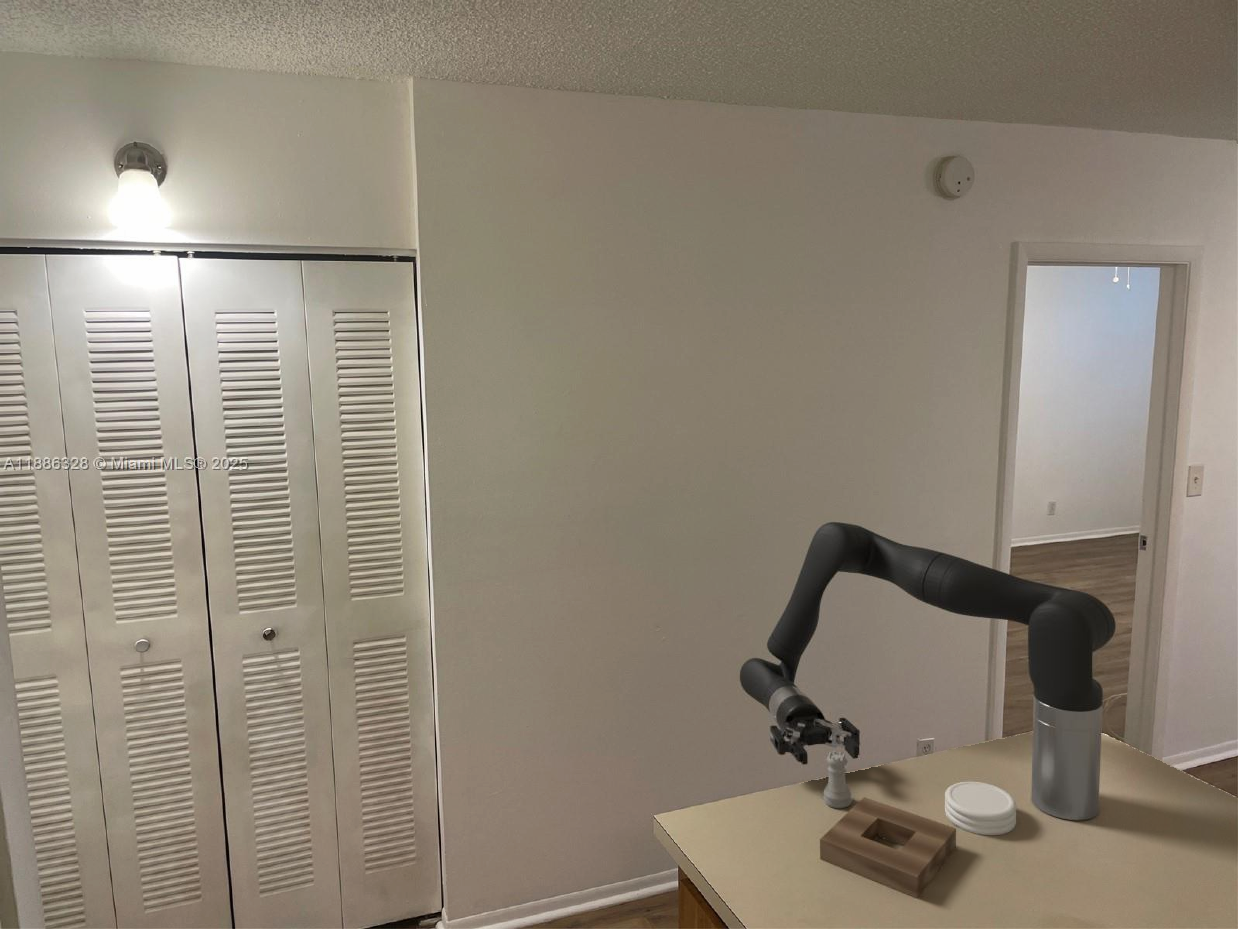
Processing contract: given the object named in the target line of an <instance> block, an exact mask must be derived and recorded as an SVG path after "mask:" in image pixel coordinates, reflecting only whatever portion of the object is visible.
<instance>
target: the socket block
mask: <svg viewBox="0 0 1238 929" xmlns="http://www.w3.org/2000/svg"><path fill="white" fill-rule="evenodd" d="M880 837H881V838H880ZM877 838H880V839H883V838H885V839H887V840H886V841H888V840H889V842H892V843H893V842H895V843H894V844H896V843H897V844H896V845H900V846H902V848H900V850H898V849H896V848H894V847H890V846H888V845H884V844H883V843H880V842H877V841H876V840H877ZM885 839H884V840H885ZM956 848H957V828H956V827H953V826H950V825H948V824H947V825H946V824H944V823H942V822H938V821H936V820H933V819H929V818H926V817H924V816H920V815H919V814H915V813H912V812H910V811H906V810H903V809H901V808H897V807H894V806H891V805H888V804H887V803H883V802H879V801H877V800H874V799H871V798H867V797H866V796H864V797H862V798H861V799H860V800H859V801H858V802H857V803H856V804H855V805H854V806H853V807H851V809H850V810H849V811H848V812H847V813H846V814H845V815H844V816H842V818H840V819H839V820H838V821H837V822H836V823H835V824H834V825H833V826H832V827H831V828H830V829H828V831H827V832H826V833H825V834H823V836H821V837H820V838H819V859H820V860H822V861H824V862H828V863H829V862H830V864H832V865H834V866H837V867H839V866H840V868H841V869H844V870H847V871H849V872H852V873H854V874H857V875H859V876H862V877H864V878H867V879H869V880H871V881H874V882H877V883H879V884H881V885H884V886H886V887H888V888H891V889H893V890H896V891H898V892H900V893H904V894H906V895H908V896H910V897H913V898H916V899H918V898H919V896H920V895H921V894H922V892H923V891H924V890H925V888H926V887H927V886H928V884H929V883H930V882H931V881H932V880H933V878H934V877H935V876H936V874H937V873H938V872H939V870H940V869H941V868H942V866H943V865H944V864H945V863H946V862H947V860H948V859H949V858H950V856H951V855H952V853H953V852H954V851H955V850H956Z"/></svg>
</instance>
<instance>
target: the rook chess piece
mask: <svg viewBox="0 0 1238 929" xmlns="http://www.w3.org/2000/svg"><path fill="white" fill-rule="evenodd" d="M826 762H827V764H828V768H827V771H828V781H827V782H828V783H827V784H826V786H825V788H824V789H823V797H822V800H823V802H824V803H825V804H826V806H828V807H830V806H831V808H832V809H838V808H839V809H845V807H846V808H847V807H849V806H850V805H851V804H852V802H853V801H852V792H851V790H850V789H849V786H848V784H847V781H846V780H847V779H846V771H847V769H846V767H845V766H846V765H848V759H847V757H846V754H845V753H843V752H842V751H838V753H837V750H833V752H832V751H830V752H829V753H828V756H827V757H826Z"/></svg>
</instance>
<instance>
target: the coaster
mask: <svg viewBox="0 0 1238 929" xmlns="http://www.w3.org/2000/svg"><path fill="white" fill-rule="evenodd" d="M944 798H945V799H944V813H945V815H946V818H947V819H948V820H949V821H950V822H951V823H952V824H953V825H955V826H956V827H958V828H960V829H962V830H963V831H966V832H970V833H973V834H977V835H983V836H998V835H1005V834H1007V833H1009V832H1011V831H1013V829H1014V828H1015V827H1016V824H1017V819H1016V818H1017V803H1016V800H1015V798H1014V797H1013V796H1012V795H1010V794H1009V793H1008V792H1007V791H1005V790H1004V789H1002V788H1001V787H999V786H995V785H992V784H990V783H986V782H980V781H962V782H957V783H954V784H952V785H950V786H949V787H947V788H946V789H945V793H944Z"/></svg>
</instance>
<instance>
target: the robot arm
mask: <svg viewBox="0 0 1238 929" xmlns="http://www.w3.org/2000/svg"><path fill="white" fill-rule="evenodd" d="M838 572H840V573H841V572H842V573H848V574H849V573H850V574H861V575H865V576H870V577H873V578H877V579H880V580H884V581H887V582H890V583H891V584H894V585H896V586H897V587H899V589H901V590H903V591H904V592H906V593H907V594H908V595H910V596H911V597H913V598H915V599H916V600H918V601H921V602H923V603H925V604H927V605H930V606H932V607H933V606H934V607H936V608H938V609H941V610H944V611H946V612H949V613H953V614H957V615H960V616H967V617H975V618H984V619H992V620H993V619H995V620H1005V621H1006V620H1007V621H1011V622H1015V623H1020V624H1023V625H1026V626H1028V628H1027V655H1028V656H1027V657H1028V658H1027V659H1028V673H1029V674H1028V675H1029V678H1030V680H1031V682H1032V685H1033V707H1032V708H1033V709H1032V710H1033V717H1032V719H1033V720H1032V750H1031V751H1032V752H1031V753H1032V756H1031V759H1032V760H1031V786H1030V787H1031V788H1030V789H1031V793H1030V799H1031V802H1032V804H1033V805H1034V806H1035V807H1036V808H1037V809H1039V810H1040V811H1042V812H1043V813H1045V814H1048V815H1050V816H1053V817H1055V818H1059V819H1063V820H1071V821H1085V820H1089V819H1092V818H1093V819H1094V818H1095V817H1096V816H1097V815H1098V814H1099V804H1100V800H1099V799H1100V783H1101V780H1100V779H1101V778H1100V777H1101V755H1102V754H1101V752H1102V751H1101V749H1102V730H1103V728H1102V725H1103V723H1102V721H1103V702H1104V701H1103V697H1104V696H1103V695H1104V694H1103V692H1104V691H1103V687H1102V685H1101V683H1100V682H1099V681H1097V680H1096V679H1095V678H1094V677H1093V653H1094V652H1096V651H1098V650H1100V649H1101V648H1103V647H1104V646H1106V645H1107V644H1108V643H1109V641H1111V640H1112V638H1113V636H1114V635H1115V631H1116V627H1117V626H1116V625H1117V624H1116V620H1115V616H1114V614H1113V612H1112V611H1111V610H1110V608H1109V607H1108V606H1107V605H1106V604H1105V603H1104V602H1103V601H1101V600H1100V599H1099V598H1097V597H1095V596H1094V595H1092V594H1089V593H1087V592H1085V591H1084V592H1083V591H1080V590H1075V589H1070V588H1066V587H1060V586H1056V585H1049V584H1046V583H1041V582H1036V581H1031V580H1028V579H1024V578H1021V577H1018V576H1015V575H1012V574H1009V573H1007V572H1004V571H1000V570H998V569H995V568H993V567H989V566H985V565H982V564H979V563H976V562H974V561H971V560H967V559H965V558H962V557H959V556H955V555H953V554H949V553H945V552H941V551H937V550H933V549H929V548H925V547H920V546H914V545H913V546H912V545H907V544H903V543H899V542H897V541H894V540H892V539H889V538H887V537H885V536H883V535H880V534H878V533H875V532H874V531H872V530H870V529H868V528H866V527H863V526H861V525H858V524H852V523H845V522H839V521H831V522H826V523H824V524H822V525H821V526H820V527H819V528H818V529H817V530H816V532H815V533H814V535H813V537H812V539H811V541H810V543H809V546H808V550H807V552H806V554H805V558H804V561H803V564H802V567H801V569H800V572H799V574H798V577H797V580H796V583H795V585H794V588H793V591H792V593H791V596H790V598H789V601H788V602H787V605H786V607H785V609H784V611H783V612H782V613H781V616H780V618H779V620H778V622H777V624H776V625H775V627H774V628H773V630H772V632H771V634H770V635H769V638H768V640H767V642H766V648H767V650H768V652H769V653H770V654H771V655H772V656H774V658H776V659H777V660H779V661H780V662H779V664H777V663H775V662H774V663H773V662H772V661H768V660H766V659H763V658H759V657H752V658H749V659H747V660H746V661H744V663H743V664H742V666H741V667H740V670H739V681H740V685H741V687H742V689H743V691H744V692H745V693H746V694H747V695H749V697H751V698H752V699H754V700H755V701H757V702H758V703H760V704H761V705H762V706H764V707H765V708H766V710H767V711H768V712H769V714H770V715H771V716H772V719H773V721H774V722H775V723H776V725H774V724H773V725H770V726H769V732H770V733H769V735H770V738H769V739H770V742H771V743H772V746H773V747H774V749H775V751H776V753H777V754H779V755H781V756H784V755H786V753H789V755H791V756H793V757H794V759H795V760H796V761H797V763H801V764H802V766H803V765H808V763H809V762H808V751H807V750H806V749H805V747H806V746H807V747H809V746H816V745H824V746H828V747H832V748H834V749H835V748H837V747H840V748H843V749H844V750H845V752H846V753H847V754H848V755H849V756H850V757H851V758H852V759H853V760H854V759H858V758H859V756H860V745H861V742H860V738H861V737H860V734H861V731H860V730H859V728H857V727H856V726H855V725H854V723H852V722H851V721H849V720H848V719H847V718H845V717H840V718H839V719H838V720H839V722H832V721H830V720H827V719H826V718H825V716H824V714H823V712H822V711H821V709H820V708H819V706H817V705H816V704H815V703H814V702H813V701H812V699H811V698H809V696H808V695H807V694H806V693H805V692H803V691H802V690H801V689H799V688H798V686H797V685H796V684H795V679H796V675H797V672H798V671H797V670H798V668H799V664H800V660H801V658H802V656H803V654H804V652H805V650H806V649H807V647H808V645H809V644H810V642H811V640H812V638H813V637H814V635H815V633H816V630H817V628H818V624H819V618H820V610H821V602H822V598H823V596H824V593H825V591H826V589H827V588H828V587H827V586H829V584H830V583H831V581H832V580H833V578H834V577H835V576H836V574H837V573H838ZM841 737H842V738H843V740H841ZM830 738H832V739H830ZM786 739H788V740H786Z"/></svg>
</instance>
